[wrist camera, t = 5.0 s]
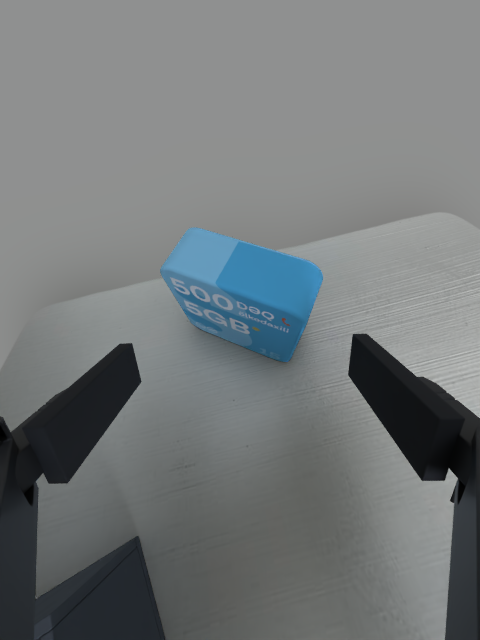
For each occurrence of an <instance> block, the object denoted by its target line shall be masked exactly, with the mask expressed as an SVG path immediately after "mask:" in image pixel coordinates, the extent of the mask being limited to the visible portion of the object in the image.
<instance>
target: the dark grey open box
mask: <svg viewBox="0 0 480 640" xmlns="http://www.w3.org/2000/svg"><path fill="white" fill-rule="evenodd" d="M34 640H165V637H164V633H163V629H162V625H161V622H160V618H159V614H158V610H157V606H156V602H155V599H154V595H153V591H152V587H151V583H150V579H149V576H148V572H147V568H146V564H145V560H144V556H143V553H142V549H141V545H140V541H139V537H138V536H137V537H135V538H134V539H132V540H130V541H129V542H127V543H125V544H124V545H122V546H121V547H119V548H117V549H116V550H114V551H113V552H111V553H109V554H108V555H106V556H105V557H103V558H101V559H100V560H98V561H97V562H95V563H93V564H92V565H90V566H89V567H87V568H85V569H84V570H82V571H81V572H79V573H77V574H76V575H74V576H72V577H71V578H69V579H68V580H66V581H64V582H63V583H61V584H60V585H58V586H56V587H55V588H53V589H52V590H50V591H48V592H47V593H45V594H44V595H42V596H40V597H39V598H37V599H36V600H35V620H34Z"/></svg>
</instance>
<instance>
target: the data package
mask: <svg viewBox="0 0 480 640" xmlns="http://www.w3.org/2000/svg"><path fill="white" fill-rule="evenodd" d="M160 272H161V275H162V277H163V279H164V280H165V282H166V283H167V285H168V287H169V288H170V290H171V291H172V293H173V295H174V296H175V298H176V299H177V301H178V303H179V304H180V306H181V308H182V309H183V311H184V312H185V314H186V316H187V317H188V319H189V320H190V322H191V323H192V324H193V325H195V326H196V327H198V328H199V329H201V330H203V331H206V332H208V333H211V334H213V335H216V336H218V337H220V338H223V339H225V340H228V341H230V342H233V343H235V344H238V345H240V346H242V347H245V348H247V349H250V350H252V351H255V352H257V353H260V354H262V355H265V356H267V357H269V358H272V359H274V360H277V361H282V362H287V361H289V360H290V359H291V357H292V355H293V352H294V350H295V348H296V346H297V344H298V342H299V340H300V337H301V335H302V333H303V331H304V329H305V327H306V324H307V322H308V319H309V316H310V313H311V311H312V308H313V305H314V302H315V300H316V297H317V294H318V291H319V289H320V286H321V283H322V280H323V275H322V272H321V270H320V269H319V268H318V266H316V265H315V264H314V263H312V262H310V261H308V260H305V259H302V258H299V257H295V256H292V255H289V254H285V253H282V252H278V251H275V250H271V249H268V248H265V247H261V246H258V245H255V244H251V243H248V242H244V241H241V240H238V239H235V238H231V237H228V236H224V235H221V234H218V233H214V232H211V231H207V230H204V229H201V228H190V229H188V230H187V231H186V233H185V234H184V235H183V237H182V238H181V240H180V241H179V243H178V244H177V246H176V247H175V249H174V250H173V251H172V253H171V254H170V256H169V257H168V258H167V260H166V261H165V263H164V264H163V266H162V267H161V269H160Z"/></svg>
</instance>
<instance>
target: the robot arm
mask: <svg viewBox="0 0 480 640" xmlns="http://www.w3.org/2000/svg"><path fill="white" fill-rule="evenodd" d="M348 375H349V377H350V378H351V380H352V381H353V383H354V384H355V385H356V387H357V388H358V390H359V391H360V393H361V394H362V396H363V397H364V398H365V400H366V401H367V403H368V404H369V406H370V407H371V408H372V410H373V411H374V413H375V414H376V416H377V417H378V418H379V420H380V421H381V423H382V424H383V426H384V427H385V428H386V430H387V431H388V433H389V434H390V436H391V437H392V438H393V440H394V441H395V443H396V444H397V446H398V447H399V449H400V450H401V451H402V453H403V454H404V456H405V457H406V459H407V460H408V461H409V463H410V464H411V466H412V467H413V469H414V470H415V471H416V473H417V474H418V476H419V477H420V479H421V480H422V481H445V478H446V475H447V472H448V469H449V468H450V470H451V471H452V472H453V473H454V474H455V475H456V477H457V478H458V480H457V483H456V486H455V489H454V491H453V494H452V497H451V500H450V501H451V502H453V503H454V515H453V530H452V545H451V560H450V574H449V589H448V604H447V619H446V634H445V640H480V418H479V417H477V416H476V415H475V414H474V413H472V412H471V411H470V410H469V409H468V408H466V407H465V406H464V405H463V404H461V403H460V402H459V401H458V400H455V398H454V397H453V396H451V395H450V394H449V393H446V391H445V390H444V389H443V388H441V387H440V386H439V385H438V384H436V383H434V382H432V381H430V380H428V379H426V378H424V377H416V376H415V375H414V374H413V373H412V372H411V371H409V370H408V369H407V368H406V367H405V366H404V365H402V364H401V363H400V362H399V361H398V360H397V359H395V358H394V357H393V356H392V355H391V354H390V353H388V352H387V351H386V350H385V349H384V348H383V347H381V346H380V345H379V344H378V343H377V342H376V341H374V340H373V339H372V338H371V337H370V336H369V335H367V334H353V337H352V346H351V355H350V364H349V373H348ZM140 383H141V378H140V374H139V370H138V366H137V362H136V358H135V353H134V349H133V345H132V343H128V344H119V345H118V346H117V347H116V348H114V349H113V350H112V351H111V352H110V353H109V354H107V355H106V356H105V357H104V358H103V359H102V360H100V361H99V362H98V363H97V364H96V365H95V366H93V367H92V368H91V369H90V370H89V371H88V372H86V373H85V374H84V375H83V376H82V377H81V378H79V379H78V380H77V381H76V382H75V383H74V384H72V385H71V386H70V387H69V388H68V389H66V390H64V391H62V392H60V393H59V394H57V395H55V396H54V397H53V398H52V399H50V400H49V401H48V402H47V403H46V405H43V406H42V407H41V408H40V409H38V411H37V412H35V413H34V414H32V415H31V416H30V417H29V418H28V419H26V420H25V421H24V422H23V423H22V424H20V425H19V426H18V427H17V428H16V429H14V430H13V431H12V432H10V430H9V428H8V426H7V425H6V423H5V421H4V419H3V417H0V640H34V620H35V587H36V554H37V522H38V486H37V483H36V480H37V479H38V478H39V477H40V476H41V475H42V473H44V475H45V477H46V479H47V481H48V483H49V484H58V483H68V482H69V481H70V479H71V478H72V477H73V475H74V474H75V473H76V471H77V470H78V468H79V467H80V466H81V464H82V463H83V462H84V460H85V459H86V457H87V456H88V455H89V453H90V452H91V450H92V449H93V448H94V446H95V445H96V444H97V442H98V441H99V439H100V438H101V437H102V435H103V434H104V433H105V431H106V430H107V428H108V427H109V426H110V424H111V423H112V422H113V420H114V419H115V417H116V416H117V415H118V413H119V412H120V410H121V409H122V408H123V406H124V405H125V404H126V402H127V401H128V399H129V398H130V397H131V395H132V394H133V393H134V391H135V390H136V388H137V387H138V386H139V384H140Z"/></svg>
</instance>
